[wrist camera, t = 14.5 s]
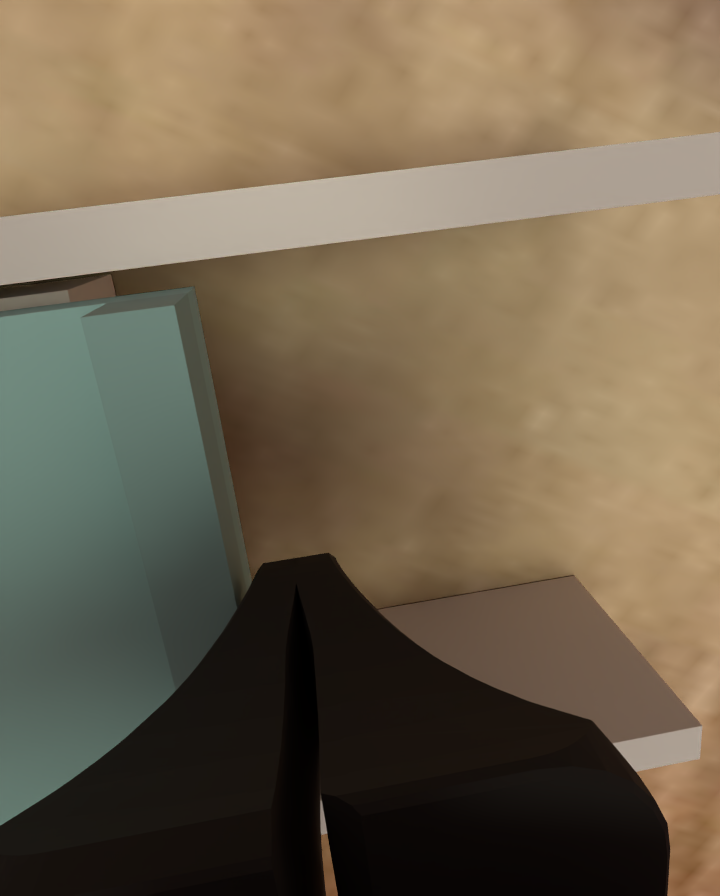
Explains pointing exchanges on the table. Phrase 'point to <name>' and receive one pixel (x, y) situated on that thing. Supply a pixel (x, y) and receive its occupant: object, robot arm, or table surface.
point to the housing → (395, 213)
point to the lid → (106, 527)
